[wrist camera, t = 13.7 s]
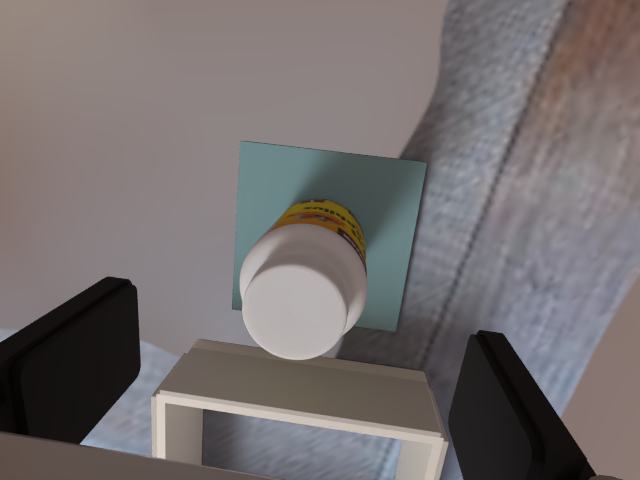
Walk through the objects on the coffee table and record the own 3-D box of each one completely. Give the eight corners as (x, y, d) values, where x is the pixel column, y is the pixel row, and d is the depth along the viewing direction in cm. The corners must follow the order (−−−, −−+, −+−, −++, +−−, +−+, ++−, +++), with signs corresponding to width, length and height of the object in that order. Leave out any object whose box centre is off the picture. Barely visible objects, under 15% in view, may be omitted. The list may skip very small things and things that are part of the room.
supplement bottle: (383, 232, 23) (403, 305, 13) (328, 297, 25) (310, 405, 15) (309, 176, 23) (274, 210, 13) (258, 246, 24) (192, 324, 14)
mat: (243, 140, 23) (240, 140, 23) (425, 161, 23) (427, 162, 22) (234, 305, 26) (231, 309, 26) (395, 327, 26) (395, 332, 25)
